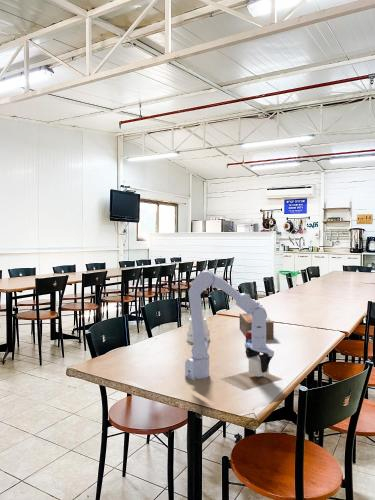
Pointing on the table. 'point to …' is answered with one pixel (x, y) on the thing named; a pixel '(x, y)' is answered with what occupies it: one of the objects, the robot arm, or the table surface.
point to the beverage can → (249, 339)
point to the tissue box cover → (247, 325)
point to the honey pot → (190, 330)
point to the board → (249, 380)
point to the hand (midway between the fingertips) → (258, 369)
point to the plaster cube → (256, 367)
